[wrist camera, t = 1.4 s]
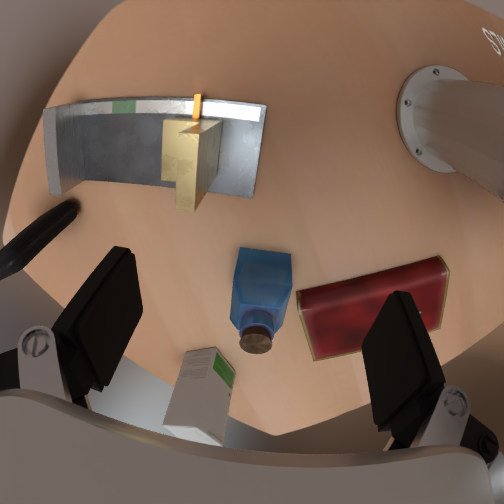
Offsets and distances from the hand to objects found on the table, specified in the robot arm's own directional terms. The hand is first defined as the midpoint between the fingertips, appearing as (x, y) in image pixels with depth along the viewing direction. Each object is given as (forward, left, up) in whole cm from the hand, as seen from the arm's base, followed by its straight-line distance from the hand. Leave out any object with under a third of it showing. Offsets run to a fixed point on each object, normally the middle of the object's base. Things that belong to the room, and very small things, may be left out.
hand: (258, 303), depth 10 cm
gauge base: (+13, 0, -22) cm, 25 cm away
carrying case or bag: (+29, +11, -22) cm, 38 cm away
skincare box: (+5, +37, -22) cm, 43 cm away
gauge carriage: (+8, -1, -21) cm, 22 cm away
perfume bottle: (-1, +15, -22) cm, 27 cm away
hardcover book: (-18, +18, -23) cm, 34 cm away
